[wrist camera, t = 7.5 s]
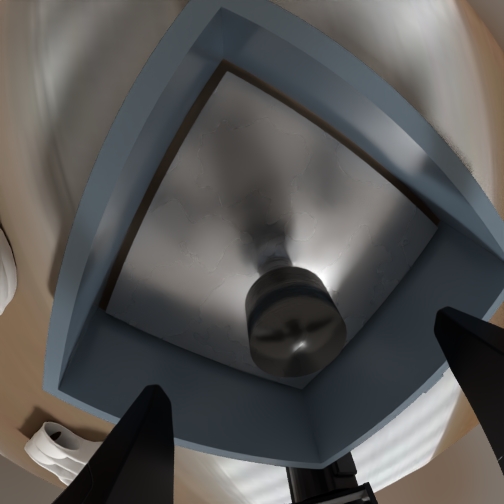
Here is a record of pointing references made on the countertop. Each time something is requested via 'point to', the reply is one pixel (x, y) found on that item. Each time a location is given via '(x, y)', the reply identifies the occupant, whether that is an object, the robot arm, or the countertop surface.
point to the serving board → (188, 124)
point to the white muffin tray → (60, 451)
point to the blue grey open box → (366, 339)
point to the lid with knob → (266, 241)
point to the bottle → (6, 273)
